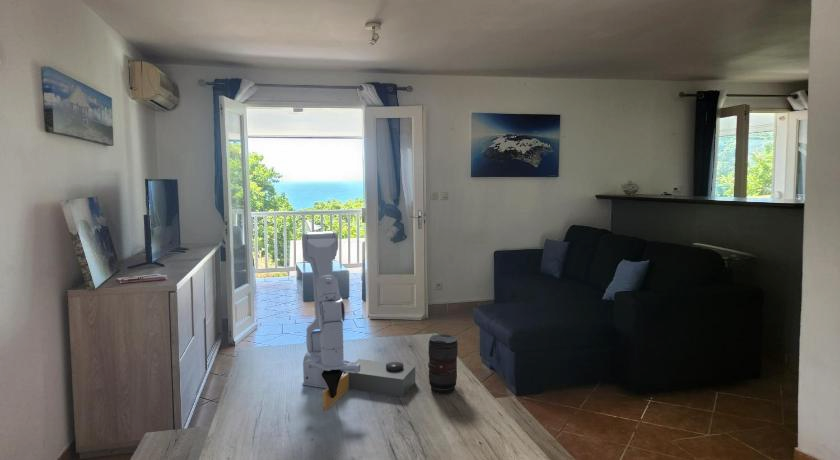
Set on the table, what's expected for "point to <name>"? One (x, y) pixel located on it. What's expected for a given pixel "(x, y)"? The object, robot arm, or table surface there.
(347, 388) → the side door
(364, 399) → the table surface
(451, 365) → the camera lens
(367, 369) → the camera housing
